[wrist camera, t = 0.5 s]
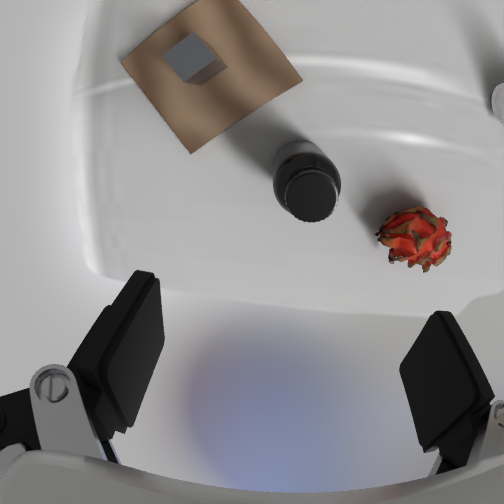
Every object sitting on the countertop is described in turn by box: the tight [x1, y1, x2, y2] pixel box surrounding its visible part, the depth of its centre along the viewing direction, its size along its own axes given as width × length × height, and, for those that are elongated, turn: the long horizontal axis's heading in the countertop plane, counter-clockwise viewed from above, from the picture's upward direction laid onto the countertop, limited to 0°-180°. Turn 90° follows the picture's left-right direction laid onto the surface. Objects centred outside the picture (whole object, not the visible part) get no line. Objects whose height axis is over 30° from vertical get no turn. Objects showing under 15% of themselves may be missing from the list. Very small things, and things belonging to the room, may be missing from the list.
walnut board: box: [121, 0, 303, 154], centre depth 29 cm, size 16×16×2 cm
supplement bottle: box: [273, 141, 341, 222], centre depth 30 cm, size 7×7×12 cm
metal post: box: [162, 32, 228, 86], centre depth 25 cm, size 4×4×7 cm
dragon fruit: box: [375, 206, 451, 272], centre depth 34 cm, size 8×8×12 cm
